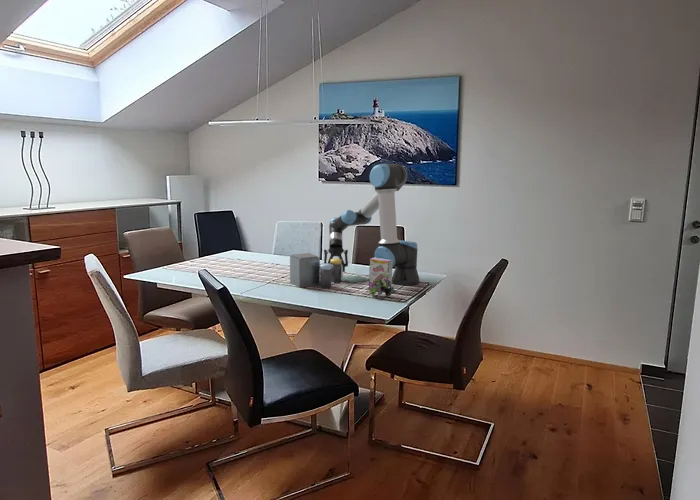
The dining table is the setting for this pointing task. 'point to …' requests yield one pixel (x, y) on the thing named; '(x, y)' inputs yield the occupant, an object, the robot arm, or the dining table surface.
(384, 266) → the candy bar box
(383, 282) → the passion flower
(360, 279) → the mat
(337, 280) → the cylinder
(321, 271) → the blue
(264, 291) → the dining table surface
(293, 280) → the box
